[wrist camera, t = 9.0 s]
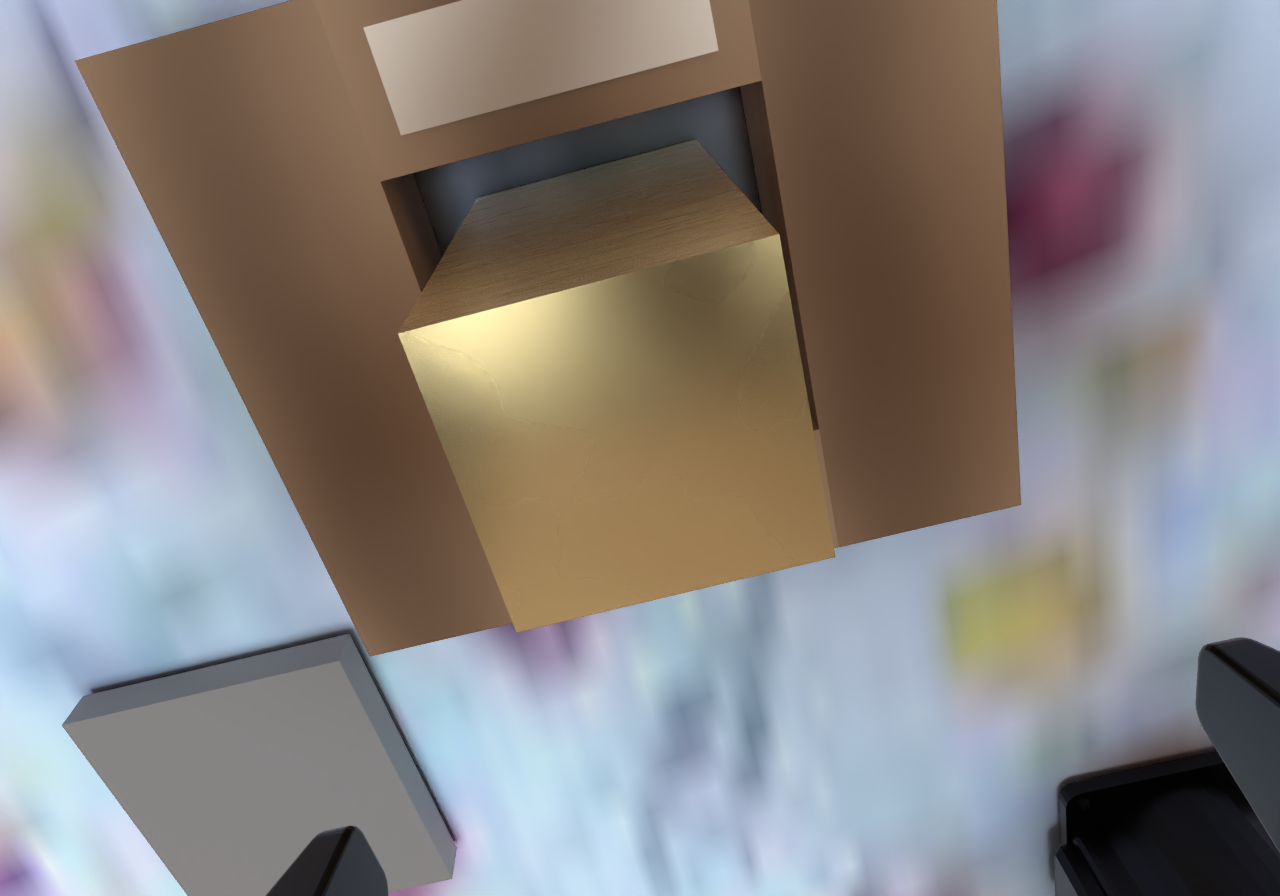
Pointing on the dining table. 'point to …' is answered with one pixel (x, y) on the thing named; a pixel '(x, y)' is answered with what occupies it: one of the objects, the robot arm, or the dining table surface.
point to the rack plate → (539, 108)
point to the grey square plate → (263, 768)
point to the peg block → (621, 387)
